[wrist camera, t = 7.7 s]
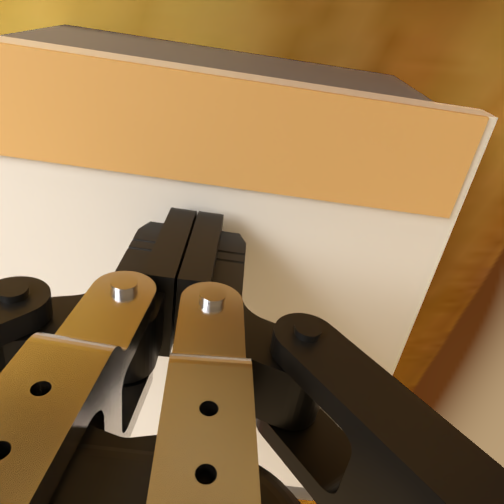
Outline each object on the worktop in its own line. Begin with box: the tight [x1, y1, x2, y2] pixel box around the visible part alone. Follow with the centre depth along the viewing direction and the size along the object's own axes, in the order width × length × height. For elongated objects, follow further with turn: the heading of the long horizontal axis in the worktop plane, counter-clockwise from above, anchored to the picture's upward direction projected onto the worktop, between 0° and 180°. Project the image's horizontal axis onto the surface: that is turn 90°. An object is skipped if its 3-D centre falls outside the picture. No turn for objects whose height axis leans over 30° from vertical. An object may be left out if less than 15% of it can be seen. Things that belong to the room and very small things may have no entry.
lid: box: [0, 36, 498, 501], centre depth 15 cm, size 17×15×1 cm
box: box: [0, 25, 433, 102], centre depth 20 cm, size 16×14×8 cm
